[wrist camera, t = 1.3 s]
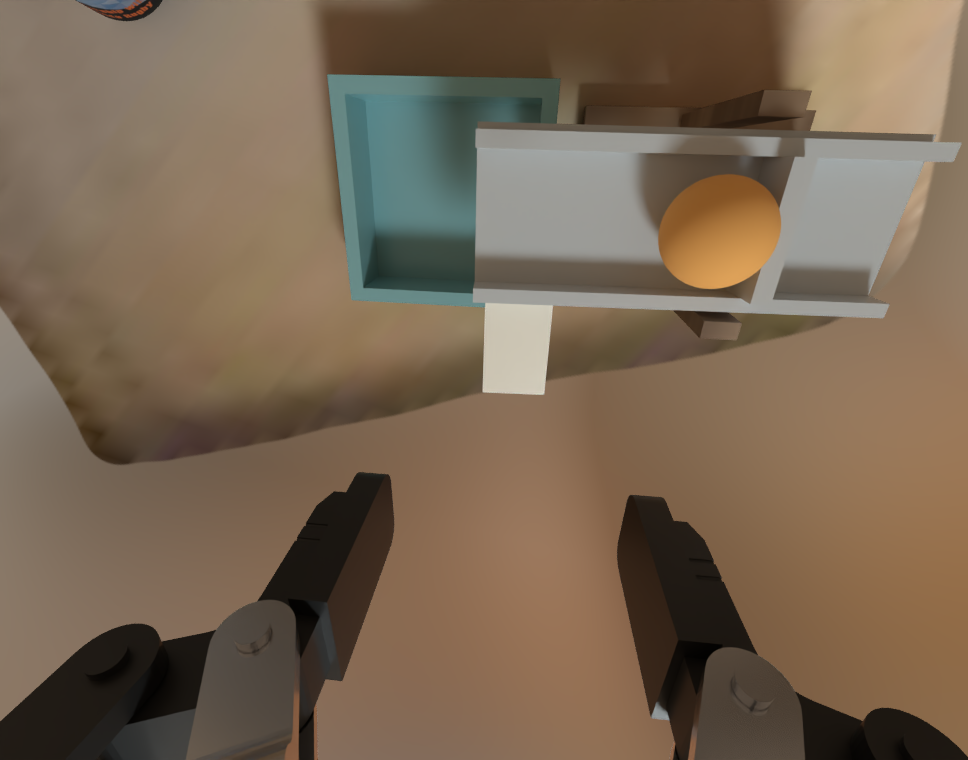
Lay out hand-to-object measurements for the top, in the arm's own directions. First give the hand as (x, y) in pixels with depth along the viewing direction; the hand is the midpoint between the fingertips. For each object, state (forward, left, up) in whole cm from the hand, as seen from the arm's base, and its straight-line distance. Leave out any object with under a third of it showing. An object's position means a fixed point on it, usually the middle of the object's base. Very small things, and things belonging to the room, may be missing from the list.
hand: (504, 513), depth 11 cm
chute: (-3, +6, -19) cm, 21 cm away
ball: (-6, +7, -10) cm, 13 cm away
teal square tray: (-6, -4, -22) cm, 23 cm away
